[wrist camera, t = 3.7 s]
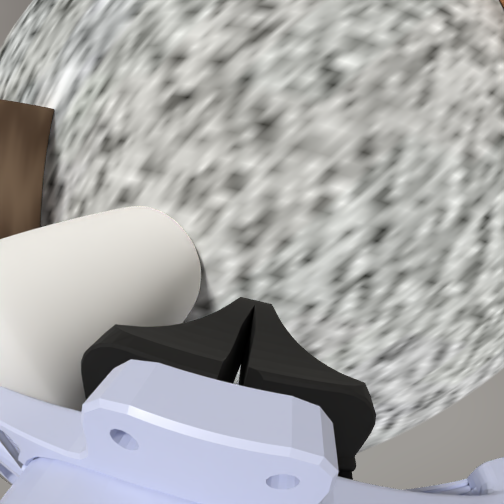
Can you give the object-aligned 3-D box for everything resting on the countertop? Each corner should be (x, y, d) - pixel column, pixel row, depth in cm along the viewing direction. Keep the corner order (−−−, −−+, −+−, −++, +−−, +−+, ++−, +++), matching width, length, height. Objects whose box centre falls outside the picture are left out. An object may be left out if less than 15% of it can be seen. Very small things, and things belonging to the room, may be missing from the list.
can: (181, 343, 15) (67, 529, 4) (86, 290, 16) (-70, 400, 4) (224, 237, 14) (31, 432, 2) (112, 185, 14) (-115, 227, 2)
